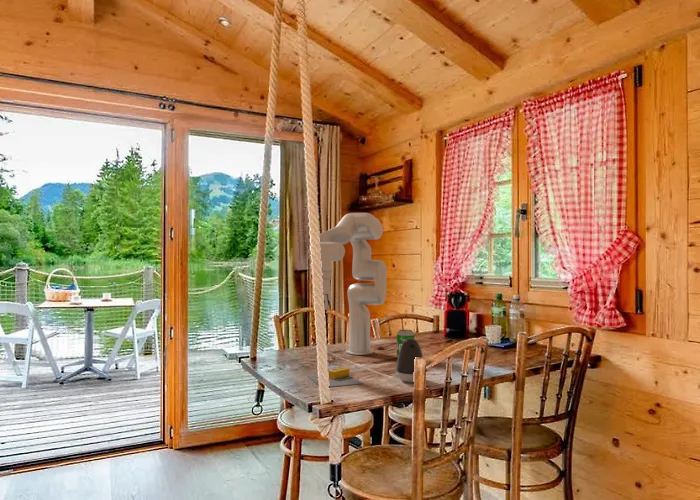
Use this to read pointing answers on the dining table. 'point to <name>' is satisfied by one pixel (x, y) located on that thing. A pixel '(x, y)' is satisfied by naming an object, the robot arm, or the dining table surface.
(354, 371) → the dining table surface
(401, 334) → the soda can
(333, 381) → the mat
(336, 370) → the crayon box
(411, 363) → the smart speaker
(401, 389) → the dining table surface
